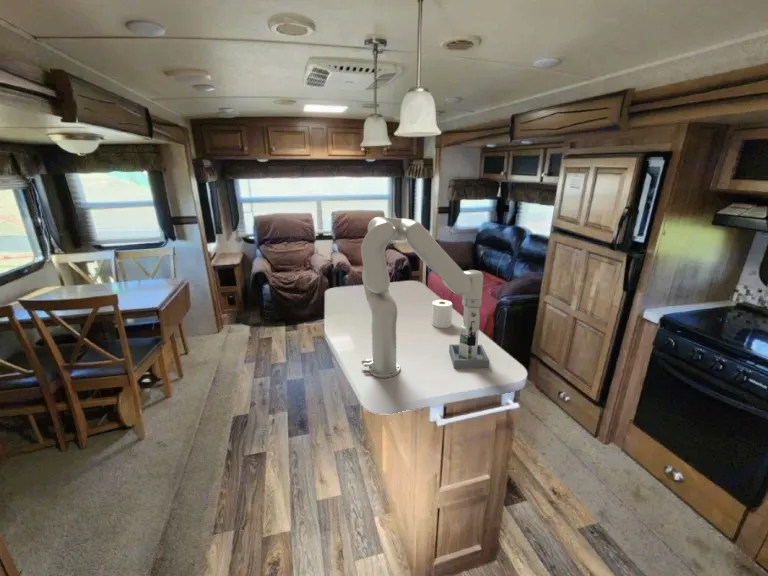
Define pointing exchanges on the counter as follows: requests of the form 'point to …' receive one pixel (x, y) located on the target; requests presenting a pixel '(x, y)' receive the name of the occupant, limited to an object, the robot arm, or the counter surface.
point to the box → (479, 362)
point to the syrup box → (464, 349)
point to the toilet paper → (441, 313)
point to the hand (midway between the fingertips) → (469, 340)
